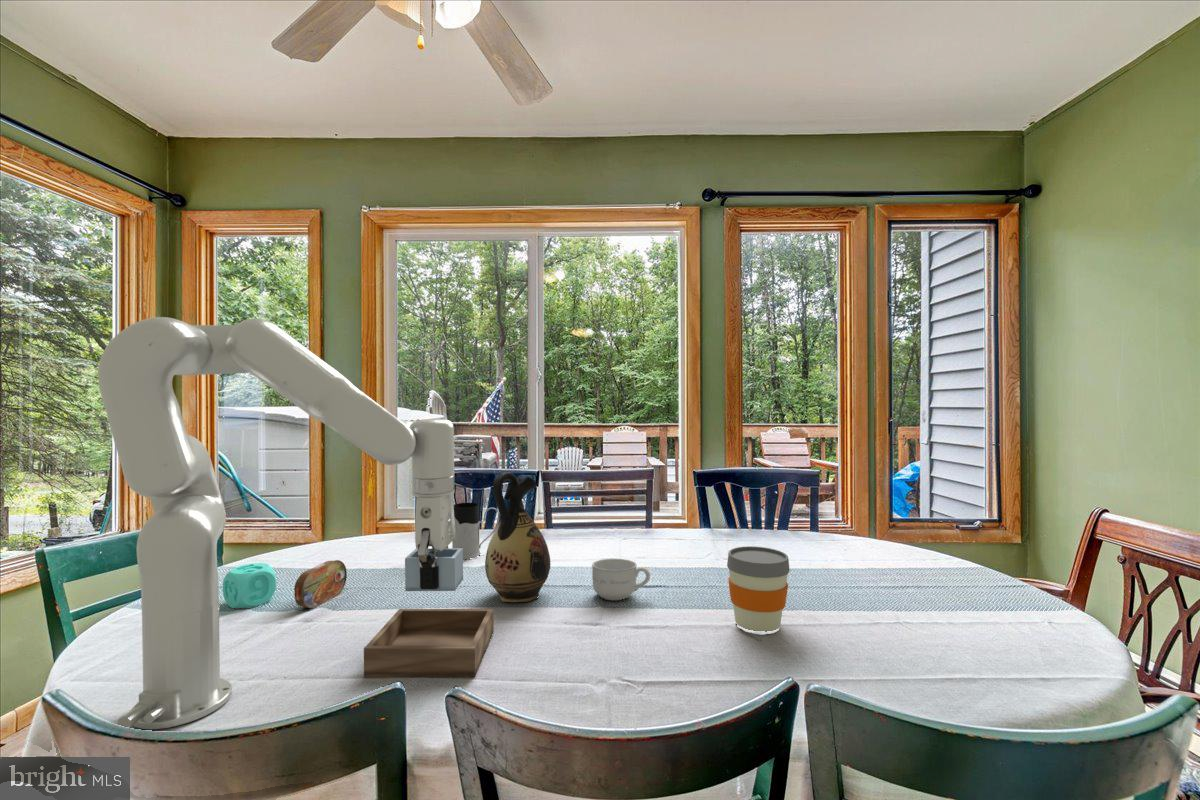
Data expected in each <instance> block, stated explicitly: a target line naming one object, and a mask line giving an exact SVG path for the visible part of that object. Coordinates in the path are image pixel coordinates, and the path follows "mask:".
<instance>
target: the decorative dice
mask: <svg viewBox="0 0 1200 800" xmlns="http://www.w3.org/2000/svg"><path fill="white" fill-rule="evenodd" d="M276 590H277V576H276V573H275V570H274V569H273V567H272V566H271V565H269V564H268V563H264V562H263V563H262V562H254V563H253V562H252V563H246V564H242V565H238V566H235V567H233V568H231V569H230V570H229V571H228V572H227V573H226V575H225V576H224V578H223V580H222V595H223V597H224V598H223V599H224V601H225V604H226V605H227V606H229V607H230V608H231V609H234V608H246V609H250V608H249V607H252V608H256V607H259V606H258V605H260V606H262V605H265V604H266V603H268V602H269V601H270V600H271V598H272V597H273V596H274V594H275V592H276ZM267 601H268V602H267ZM261 604H262V605H261ZM255 606H256V607H255Z"/></svg>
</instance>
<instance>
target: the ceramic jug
mask: <svg viewBox="0 0 1200 800" xmlns="http://www.w3.org/2000/svg"><path fill="white" fill-rule="evenodd" d="M507 481H508V482H509V487H508V489H507V491H506V494H505V495H504V494H503V491H502V485H503V484H504V483H505V482H507ZM537 486H538V485H537V482H536V480H534V478H532V477H530V476H527V475H526V476H525V477H521V476H518V477H517V476H516V475H515V474H513V473H512V472H510V471H509V472H507V471H503V472H500V473H498V474H496V476H495V477H494V479H493V484H492V491H493V497H494V499H495V503H496V505H497V510H498V512H499V520H500V522H498V526H497V528H496V530H495V532H494V533H493V534H492V535H491V539H490V541H489V543H488V545H487V549H486V553H485V554H486V555H485V559H484V561H485V562H484V570H485V575H486V578H487V581H488V583H489V584H490V585H491V587H492V588H494V590H495V591H496V592H497V594H498V595H499V599H500V601H501V600H502V601H501V602H503V603H527V602H528V603H529V602H531V601H534V599H535V600H537V599H536V598H537V597H538V596H539V597H540V595H539V593H540V591H541V590H542V587H543V585H544V584H545V583H546V582H547V579H548V578H549V573H550V570H551V556H550V551H549V547H548V544H547V541H546V539H545V537H544V536H543V533H542V531H541V530H540V529H539V527H538V526H537V524H536V522H535V521H534V520H533V518H532V517H531V516H530V515H529V514H528V512H527V510H526V508H525V506H524V503H523V498H524V496H526V495H527V494H528V493H529V492H531V491H532V490H534V489H535V488H536V487H537ZM505 500H507V501H509V502H508V507H507V506H506V505H507V504H506V501H505Z"/></svg>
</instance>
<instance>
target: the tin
mask: <svg viewBox="0 0 1200 800" xmlns="http://www.w3.org/2000/svg"><path fill="white" fill-rule="evenodd" d="M347 577H348V572H347V568H346V565H345V563H344V562H343V561H341V560H340V559H339V560H338V559H336V560H326V561H324V562H323V563H320V564H318V565H316V566H314V567H311V568H310V569H307V570H305V571H303V572H302V573H300V575H299V576H298V578H297V579H296V582H295V584H294V587H293V588H294V590H293V591H294V592H293V593H294V600H295V603H296V604H297V606H299V607H300V608H305V609H315V608H318V607H319V606H321V605H323V604H325V603H326V602H328V601H329V600H331V599H333V598H335V597H337V596H338V595H339V594H340V593H341V592H342V591H343V590H344V588H345V586H346V583H347V582H346V581H347Z"/></svg>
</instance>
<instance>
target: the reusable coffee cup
mask: <svg viewBox="0 0 1200 800" xmlns="http://www.w3.org/2000/svg"><path fill="white" fill-rule="evenodd" d="M789 561H790V560H789V555H788V554H787V553H785V552H784V551H781V550H779V549H774V548H771V547H763V546H747V545H746V546H738V547H734V548H731V549H729V551H728V554H727V564H726V567H727V569H728V573H729V577H728V578H727V581H728V588H729V597H730V601H731V603H732V606H733V614H734V615H733V616H734V621H735V622H736V623H737V624H738V625H739V626H741V627H743V628H745V629H748V630H753V631H765V632H767V631H773V630H776V629H778V628H779V627H780V628H781V625H782V624H781V623H782V616H783V609H784V608H785V607H786V603H787V596H788V589H789V583H788V582H787V581H788V575H789V573H790V571H791V570H790V569H791V568H790V562H789ZM736 623H735V624H736Z"/></svg>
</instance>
